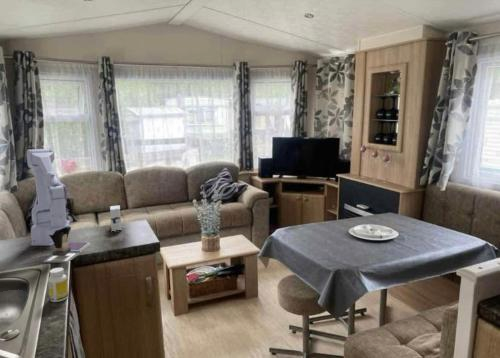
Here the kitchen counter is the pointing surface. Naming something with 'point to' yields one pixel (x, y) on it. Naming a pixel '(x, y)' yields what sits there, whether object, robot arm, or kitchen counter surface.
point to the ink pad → (78, 246)
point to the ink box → (115, 218)
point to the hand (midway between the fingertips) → (61, 246)
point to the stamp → (62, 248)
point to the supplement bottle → (57, 285)
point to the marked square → (62, 257)
